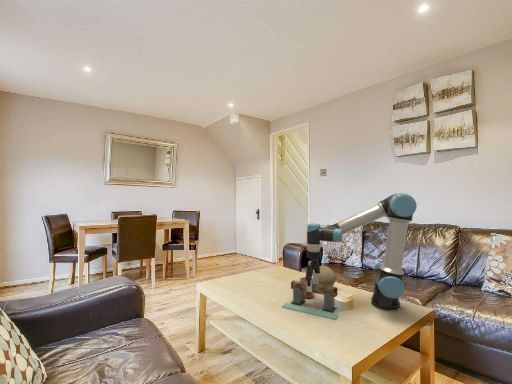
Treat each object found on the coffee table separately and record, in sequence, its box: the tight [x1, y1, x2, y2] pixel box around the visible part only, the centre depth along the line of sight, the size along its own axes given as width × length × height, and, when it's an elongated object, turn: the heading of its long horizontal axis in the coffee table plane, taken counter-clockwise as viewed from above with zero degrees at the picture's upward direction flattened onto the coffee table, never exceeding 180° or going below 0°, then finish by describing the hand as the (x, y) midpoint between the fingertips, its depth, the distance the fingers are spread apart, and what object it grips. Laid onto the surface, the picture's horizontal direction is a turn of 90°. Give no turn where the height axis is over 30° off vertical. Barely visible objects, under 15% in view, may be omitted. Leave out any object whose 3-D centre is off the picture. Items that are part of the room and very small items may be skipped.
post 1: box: [290, 286, 307, 306], centre depth 155 cm, size 6×9×10 cm, turn 151°
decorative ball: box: [312, 265, 336, 287], centre depth 179 cm, size 15×15×15 cm
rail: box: [290, 280, 338, 298], centre depth 151 cm, size 26×4×4 cm, turn 61°
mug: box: [299, 276, 315, 299], centre depth 166 cm, size 12×9×11 cm
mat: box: [281, 302, 339, 320], centre depth 144 cm, size 30×6×1 cm, turn 61°
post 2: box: [321, 292, 337, 313], centre depth 147 cm, size 6×9×10 cm, turn 151°
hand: (312, 287), depth 151 cm, fingers open, 13 cm apart
